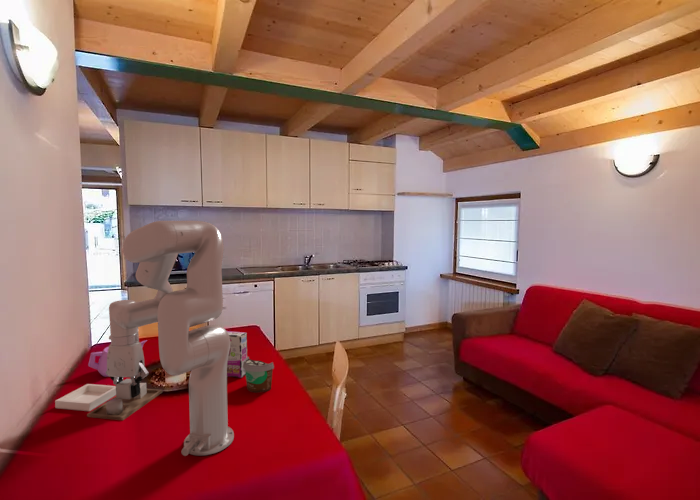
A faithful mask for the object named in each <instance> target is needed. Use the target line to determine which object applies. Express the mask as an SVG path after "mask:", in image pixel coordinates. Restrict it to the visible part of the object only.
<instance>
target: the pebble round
mask: <svg viewBox="0 0 700 500" xmlns="http://www.w3.org/2000/svg"><path fill="white" fill-rule="evenodd" d="M105 403H106V411H107V415H118V414H120V413H122V412H123V403H122V398H115V399H113V398H111V399H109V400H107V401H106V402H105Z"/></svg>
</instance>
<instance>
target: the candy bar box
mask: <svg viewBox="0 0 700 500" xmlns="http://www.w3.org/2000/svg"><path fill="white" fill-rule="evenodd" d="M226 331H227V332H228V334H229V337H230V351H229V356H228V362H227V377H231V378H239V379H241V378H243V377H245V376H246V373H245V369H244V368H243V364H244V361H245V359H246V358H247V357H248V335H247V334H248V333H247V332H242V331H241V332H240V331H231V330H229V331H228V330H226Z"/></svg>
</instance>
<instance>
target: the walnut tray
mask: <svg viewBox="0 0 700 500" xmlns="http://www.w3.org/2000/svg"><path fill="white" fill-rule="evenodd" d="M160 394H163V389H158V388H157V389H156V388H147V393H146V394H145V395H144V396H143V397H142V398H131V399H122V403H123V412H122V413H120V414H118V415H107V411H106V402H104V403H102V404H101V405H99V406H97V407H96V408H94V409H93V410H91V411H89V412H88V413H87V414H86V417H87V418H93V419H96V418H97V419H104V420H105V419H106V420H117V421H124V420H126V419H127V418H129V417H130V416H132V415H133V414H134V413H136V412H137V411H139V410H140V409H141V408H143V407H144V406H146V405H147V404H149V403H150V402H151V401H152V400H154V399H156V398H157V397H159V395H160ZM115 398H117V397H116V396H114V397H112V399H115Z"/></svg>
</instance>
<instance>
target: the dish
mask: <svg viewBox="0 0 700 500" xmlns="http://www.w3.org/2000/svg"><path fill="white" fill-rule="evenodd" d="M114 397H116V385H109V384H107V385H106V384H94V383H86V384H84V385H83V386H81V387H78V388H77V389H75V390H72V391H71V392H69V393H67V394H65V395H64V396H61V397H60V398H58V399H55V400H54V403H55V404H54V407H55V409H59V410H60V409H61V410H69V411H70V410H72V411H84V412H91V411H93V410H95V409H96V408H98V407H100V406H101V405H103V404H104V403H106V402H107V401H109V400H111V399H113V398H114Z"/></svg>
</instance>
